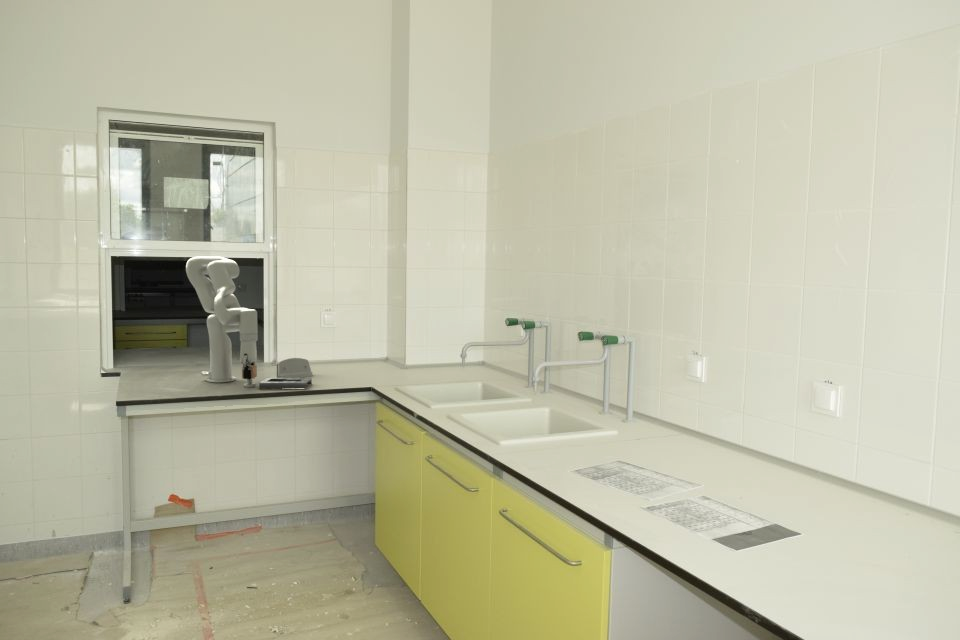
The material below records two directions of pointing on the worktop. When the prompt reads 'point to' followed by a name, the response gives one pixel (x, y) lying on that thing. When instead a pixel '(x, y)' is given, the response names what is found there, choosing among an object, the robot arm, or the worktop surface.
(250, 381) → the t peg
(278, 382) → the keyhole plate
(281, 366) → the grey arched block
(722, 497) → the worktop surface
